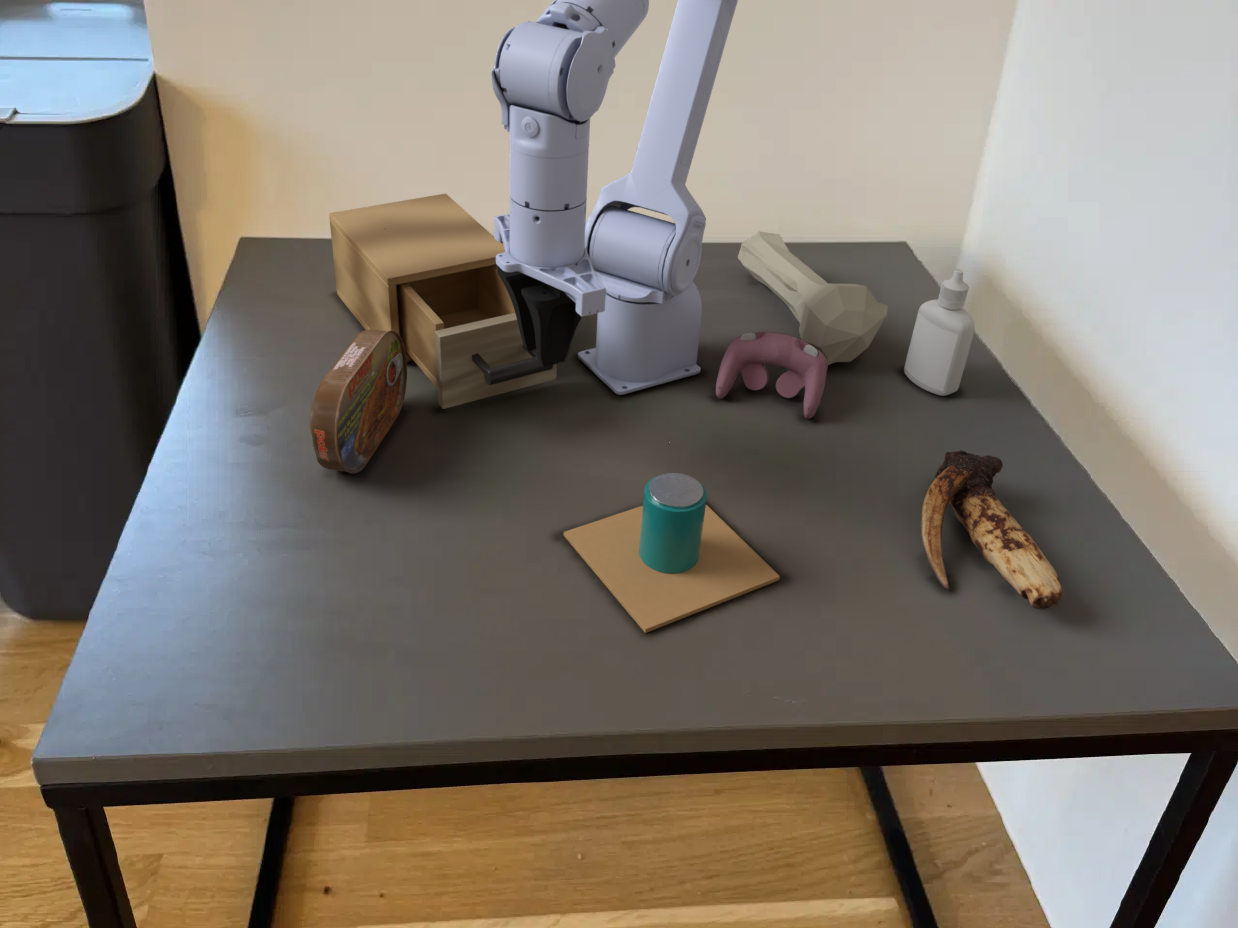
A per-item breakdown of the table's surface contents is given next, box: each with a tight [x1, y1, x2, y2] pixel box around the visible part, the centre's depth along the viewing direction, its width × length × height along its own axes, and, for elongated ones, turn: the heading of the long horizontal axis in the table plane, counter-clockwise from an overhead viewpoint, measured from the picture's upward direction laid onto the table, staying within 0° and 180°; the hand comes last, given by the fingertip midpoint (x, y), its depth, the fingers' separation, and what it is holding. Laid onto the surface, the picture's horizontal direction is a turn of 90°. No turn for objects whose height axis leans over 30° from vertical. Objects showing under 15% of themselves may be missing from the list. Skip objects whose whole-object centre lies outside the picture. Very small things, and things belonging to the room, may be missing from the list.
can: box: [639, 472, 708, 574], centre depth 83 cm, size 5×5×6 cm
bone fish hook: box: [920, 449, 1063, 610], centre depth 86 cm, size 9×5×18 cm
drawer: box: [396, 264, 558, 410], centre depth 101 cm, size 19×11×7 cm, turn 31°
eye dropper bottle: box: [903, 268, 976, 397], centre depth 104 cm, size 4×6×12 cm
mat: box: [563, 504, 781, 634], centre depth 85 cm, size 12×12×1 cm
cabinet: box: [328, 192, 505, 363], centre depth 110 cm, size 16×13×9 cm
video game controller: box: [715, 331, 829, 420], centre depth 103 cm, size 10×5×7 cm, turn 71°
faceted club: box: [737, 231, 889, 366], centre depth 115 cm, size 9×8×25 cm
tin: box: [309, 329, 408, 474], centre depth 92 cm, size 15×3×8 cm, turn 168°
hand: (544, 354), depth 90 cm, fingers closed
